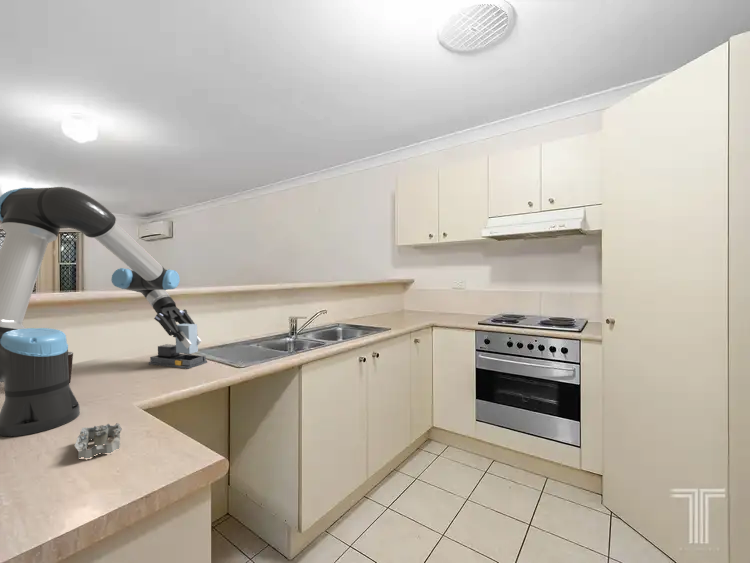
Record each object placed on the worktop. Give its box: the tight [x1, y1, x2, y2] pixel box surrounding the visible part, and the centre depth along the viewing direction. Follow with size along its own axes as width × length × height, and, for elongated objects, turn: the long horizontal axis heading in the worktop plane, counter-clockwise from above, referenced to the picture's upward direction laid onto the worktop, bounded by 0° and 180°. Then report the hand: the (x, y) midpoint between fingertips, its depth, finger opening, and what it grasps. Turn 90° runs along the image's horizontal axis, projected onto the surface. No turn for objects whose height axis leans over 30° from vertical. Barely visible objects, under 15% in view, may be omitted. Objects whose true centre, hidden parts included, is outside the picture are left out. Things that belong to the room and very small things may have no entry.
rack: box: [148, 343, 208, 370], centre depth 140 cm, size 9×21×7 cm, turn 70°
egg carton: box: [74, 422, 123, 459], centre depth 75 cm, size 11×8×4 cm
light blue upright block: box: [175, 323, 199, 355], centre depth 138 cm, size 4×7×11 cm, turn 70°
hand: (194, 344), depth 137 cm, fingers closed on light blue upright block, 4 cm apart
